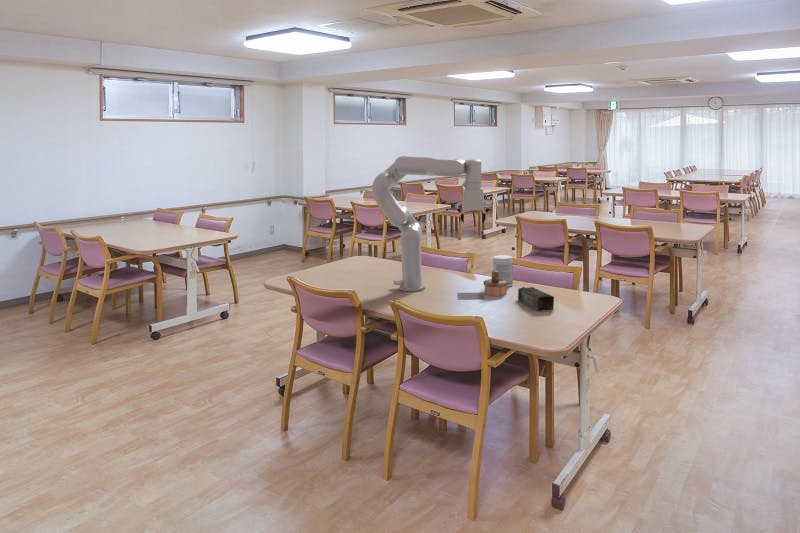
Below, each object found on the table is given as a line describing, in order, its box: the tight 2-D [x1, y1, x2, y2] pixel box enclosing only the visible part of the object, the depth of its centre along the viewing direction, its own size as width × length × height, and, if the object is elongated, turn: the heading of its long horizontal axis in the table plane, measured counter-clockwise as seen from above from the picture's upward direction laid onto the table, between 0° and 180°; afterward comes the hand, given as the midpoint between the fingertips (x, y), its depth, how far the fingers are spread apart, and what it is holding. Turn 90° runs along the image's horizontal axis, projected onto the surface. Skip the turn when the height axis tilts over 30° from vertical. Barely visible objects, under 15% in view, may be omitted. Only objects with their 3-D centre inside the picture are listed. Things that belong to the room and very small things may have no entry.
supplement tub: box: [492, 254, 514, 287], centre depth 300 cm, size 10×10×15 cm
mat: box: [456, 292, 485, 301], centre depth 282 cm, size 12×12×1 cm
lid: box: [483, 270, 507, 287], centre depth 284 cm, size 11×11×6 cm
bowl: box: [484, 285, 508, 297], centre depth 285 cm, size 10×10×5 cm
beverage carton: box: [517, 286, 555, 312], centre depth 266 cm, size 8×19×7 cm, turn 15°
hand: (473, 222), depth 289 cm, fingers open, 9 cm apart
